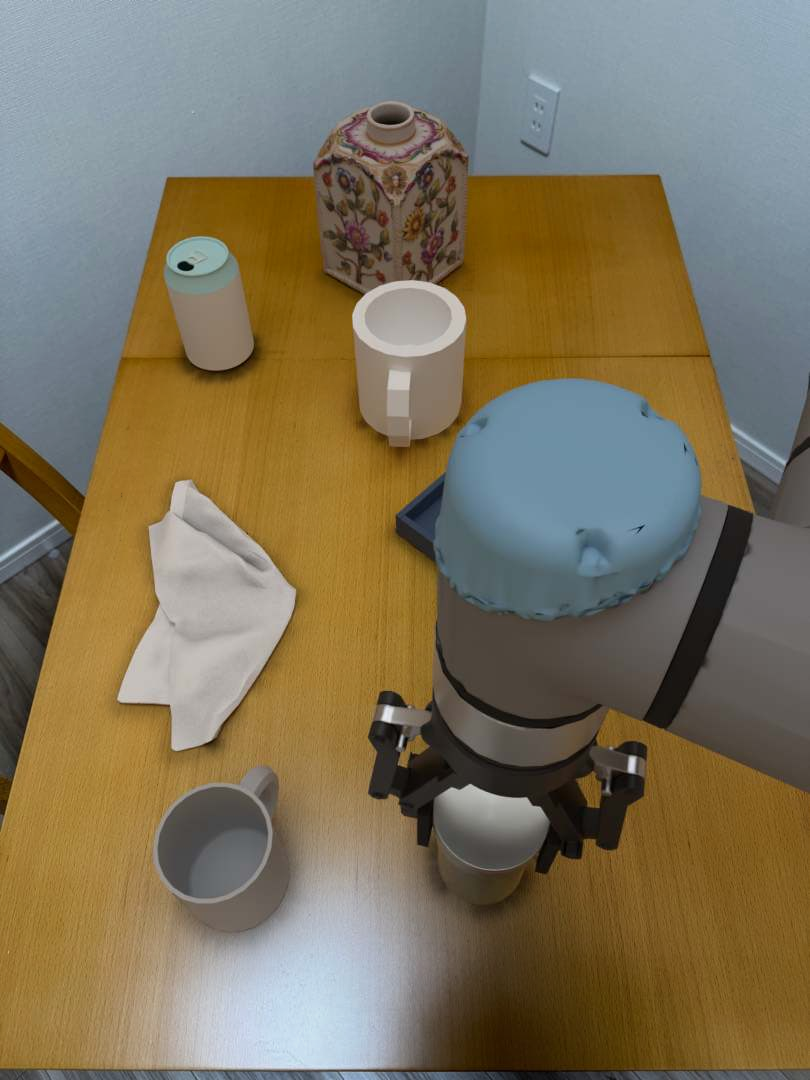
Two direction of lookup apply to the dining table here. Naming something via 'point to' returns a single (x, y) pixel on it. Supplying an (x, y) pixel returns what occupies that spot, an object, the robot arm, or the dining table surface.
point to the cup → (225, 851)
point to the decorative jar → (391, 197)
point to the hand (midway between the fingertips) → (484, 838)
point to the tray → (422, 518)
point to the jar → (475, 883)
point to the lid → (488, 831)
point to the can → (209, 303)
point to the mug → (409, 359)
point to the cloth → (205, 618)
